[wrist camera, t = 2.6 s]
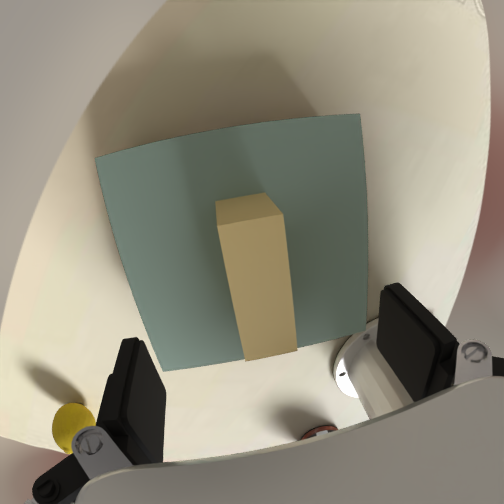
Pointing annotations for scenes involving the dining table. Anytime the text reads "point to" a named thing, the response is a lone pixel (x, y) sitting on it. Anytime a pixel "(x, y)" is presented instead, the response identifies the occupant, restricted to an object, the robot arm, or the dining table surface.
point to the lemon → (70, 424)
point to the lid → (243, 237)
